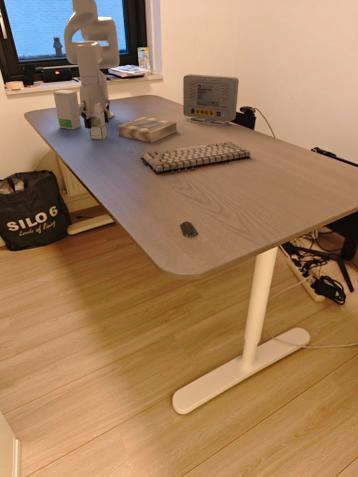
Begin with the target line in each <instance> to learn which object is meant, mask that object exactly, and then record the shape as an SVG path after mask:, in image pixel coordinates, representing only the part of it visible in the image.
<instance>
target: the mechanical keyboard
mask: <svg viewBox="0 0 358 477" xmlns="http://www.w3.org/2000/svg"><path fill="white" fill-rule="evenodd" d="M141 156H142V157H140V158H139V159H140V160H141V161H142V163H143V164H144V166H145V167H148V169H150V170H151V171H152V172H153V173H154V174H155V175H156V176H161V177H168V176H171V175H172V176H173V175H178V174H183V173H188V172H194V171H198V170H201V169H205V168H207V169H208V168H213V167H217V166H222V165H228V164H230V163H232V162H237V161H243V160H244V161H245V160H250V159H252V157H250V156H251V152H250V150H247V149H246V148H243V147H240V146H239V145H236V143H233V142H232V141H231V140H230V141H224V142H217V143H212V144H211V143H210V144H207V145H206V144H202V145H201V144H200V145H195V146H194V145H193V146H188V147H186V146H185V147H181V148H175V149H169V150H166V151H165V150H162V151H161V150H159V149H154V151H153V150H148V152H147V151H142V153H141Z"/></svg>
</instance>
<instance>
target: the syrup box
mask: <svg viewBox="0 0 358 477" xmlns="http://www.w3.org/2000/svg"><path fill="white" fill-rule="evenodd" d="M86 110H88V109H87V108H86ZM89 118H90V120H91V126H92V128H91V129H88V131H89V138H90V140H101V141H103V140H105V139H106V138H107V136H108V132H107V126H106V123H105V118H104V110H103V109H102V106H101V103H100V102H99V103H96V104H95V105H94V112H93V113H91V114H90V116H89Z"/></svg>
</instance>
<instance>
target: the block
mask: <svg viewBox="0 0 358 477" xmlns="http://www.w3.org/2000/svg"><path fill="white" fill-rule="evenodd" d="M179 226H180V229H181V232H182V235H183V236H184V237H186V238H193V237H196V236H198V235H199V232H198V230H197V229H196V228H195V226H194V225H193V223H192V222H189V221H184V222H182V223H180V225H179Z"/></svg>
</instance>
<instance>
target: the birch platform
mask: <svg viewBox="0 0 358 477" xmlns="http://www.w3.org/2000/svg"><path fill="white" fill-rule="evenodd" d="M117 130H118V136H120V137H124V138H130V139H133V140H139V141H143V142H146V143H147V142H148V143H154V142H156V141H158V140H161V139H162V138H164V137H167V136H170V135H172V134H174V133H177V121H170V120H166V119H165V120H164V119H160V118H153V117H147V116H142V117H139V118H137V119H135V120H131V121H129V122H125V123H122V124H120V125H118V126H117Z"/></svg>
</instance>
